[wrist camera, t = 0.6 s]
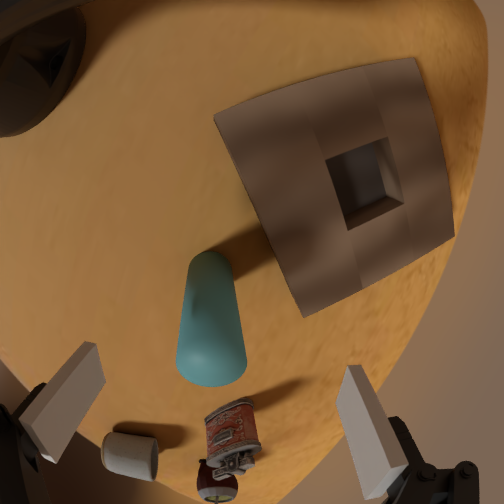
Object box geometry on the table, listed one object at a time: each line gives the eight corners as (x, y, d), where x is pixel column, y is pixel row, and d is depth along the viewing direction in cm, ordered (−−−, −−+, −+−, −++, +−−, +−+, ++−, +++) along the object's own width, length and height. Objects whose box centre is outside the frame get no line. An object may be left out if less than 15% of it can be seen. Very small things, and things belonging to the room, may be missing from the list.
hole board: (213, 119, 21) (213, 114, 17) (389, 64, 20) (414, 57, 17) (292, 295, 28) (303, 318, 24) (431, 224, 27) (454, 236, 24)
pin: (180, 262, 25) (162, 352, 14) (220, 244, 25) (227, 326, 14) (201, 296, 27) (198, 393, 16) (238, 280, 27) (257, 373, 16)
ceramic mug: (104, 422, 33) (95, 461, 26) (154, 429, 34) (150, 471, 27) (119, 451, 37) (114, 485, 30) (162, 457, 38) (161, 492, 31)
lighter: (241, 394, 33) (252, 460, 24) (258, 404, 34) (271, 466, 25) (198, 418, 34) (200, 479, 25) (216, 427, 35) (221, 485, 26)
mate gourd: (223, 471, 42) (231, 536, 28) (185, 464, 40) (187, 533, 26) (243, 457, 40) (254, 529, 26) (202, 450, 38) (206, 527, 24)
